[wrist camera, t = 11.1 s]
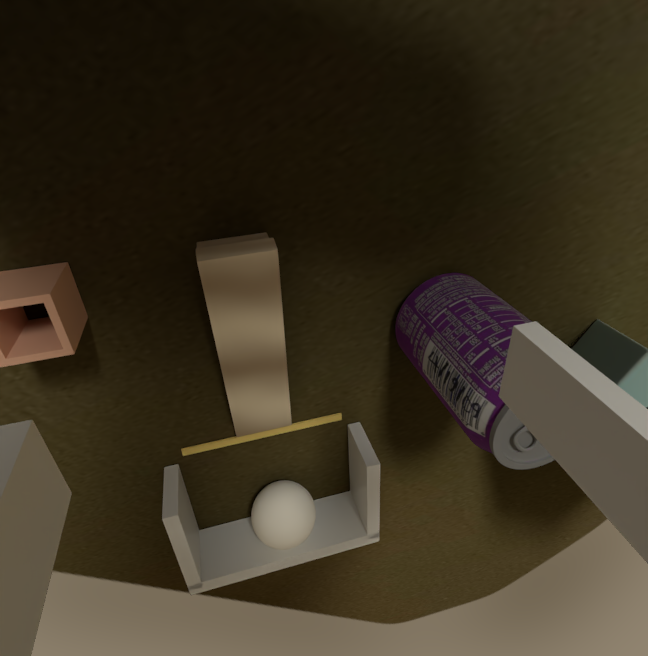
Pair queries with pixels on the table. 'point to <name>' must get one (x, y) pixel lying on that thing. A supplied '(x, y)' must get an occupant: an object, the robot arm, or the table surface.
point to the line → (260, 434)
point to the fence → (249, 551)
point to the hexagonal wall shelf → (616, 358)
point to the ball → (283, 514)
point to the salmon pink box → (43, 333)
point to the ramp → (248, 328)
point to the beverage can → (468, 361)
